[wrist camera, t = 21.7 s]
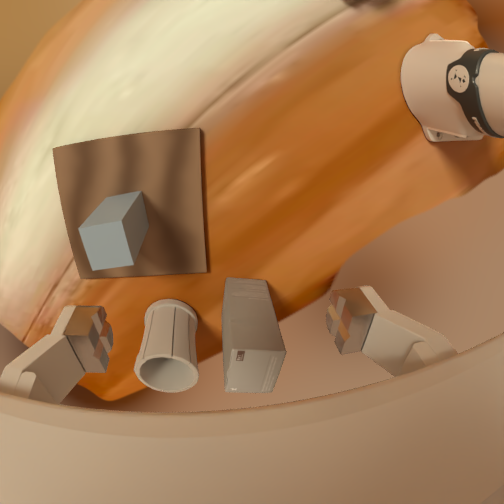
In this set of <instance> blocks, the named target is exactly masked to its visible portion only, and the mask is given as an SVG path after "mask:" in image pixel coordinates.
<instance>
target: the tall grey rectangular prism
mask: <svg viewBox="0 0 504 504" xmlns="http://www.w3.org/2000/svg"><path fill="white" fill-rule="evenodd" d="M148 228H149V223H148V219H147V214H146V210H145V205H144V200H143V196H142V191H136V192H131V193H126V194H121V195H116V196H111V197H106V198H105V199H104V201H103V202H102V203H101V204H100V205H99V206H98V207H97V208H96V209H95V210H94V211H93V212H92V214H91V215H90V216H89V217H88V218H87V219H86V220H85V221H84V223H83V224H82V225H81V226H80V227H79V228H78V229H79V232H80V236H81V239H82V242H83V245H84V248H85V251H86V254H87V257H88V259H89V262H90V265H91V268H92V270H93V271H94V270H101V269H108V268H116V267H123V266H130V265H134V263H135V261H136V258H137V255H138V253H139V250H140V248H141V245H142V243H143V240H144V238H145V235H146V233H147V230H148Z"/></svg>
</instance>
